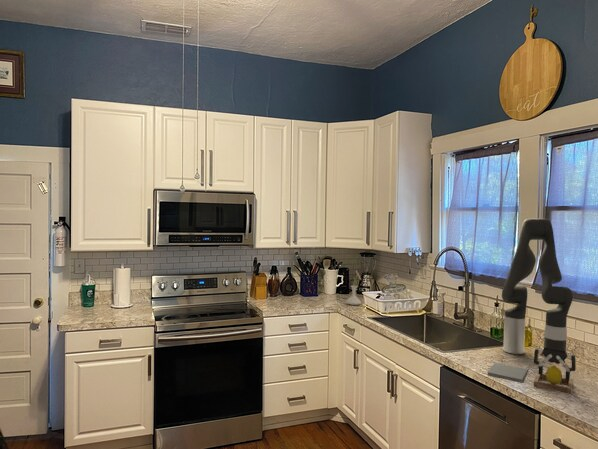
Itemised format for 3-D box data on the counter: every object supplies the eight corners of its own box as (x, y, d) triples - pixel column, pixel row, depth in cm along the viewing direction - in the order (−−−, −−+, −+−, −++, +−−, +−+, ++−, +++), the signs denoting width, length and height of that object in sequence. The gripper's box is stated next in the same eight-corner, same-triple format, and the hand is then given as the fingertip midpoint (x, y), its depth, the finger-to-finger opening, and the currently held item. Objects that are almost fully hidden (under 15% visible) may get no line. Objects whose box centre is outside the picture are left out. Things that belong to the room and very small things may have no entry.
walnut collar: (537, 377, 181) (537, 372, 181) (572, 384, 174) (572, 379, 174) (533, 386, 170) (533, 381, 170) (571, 394, 163) (571, 389, 163)
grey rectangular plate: (494, 364, 195) (495, 362, 195) (527, 371, 188) (527, 368, 188) (487, 374, 182) (487, 372, 182) (522, 382, 175) (522, 379, 175)
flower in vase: (357, 306, 316) (358, 272, 315) (343, 304, 322) (344, 270, 321) (364, 304, 327) (365, 270, 326) (350, 302, 333) (352, 269, 332)
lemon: (555, 389, 168) (556, 368, 168) (542, 384, 173) (543, 364, 173) (564, 387, 170) (565, 367, 170) (551, 382, 175) (552, 362, 175)
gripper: (577, 338, 171) (575, 379, 171) (535, 332, 179) (534, 371, 179) (576, 342, 165) (574, 385, 165) (533, 335, 173) (532, 376, 173)
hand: (553, 377), depth 172 cm, fingers open, 8 cm apart
